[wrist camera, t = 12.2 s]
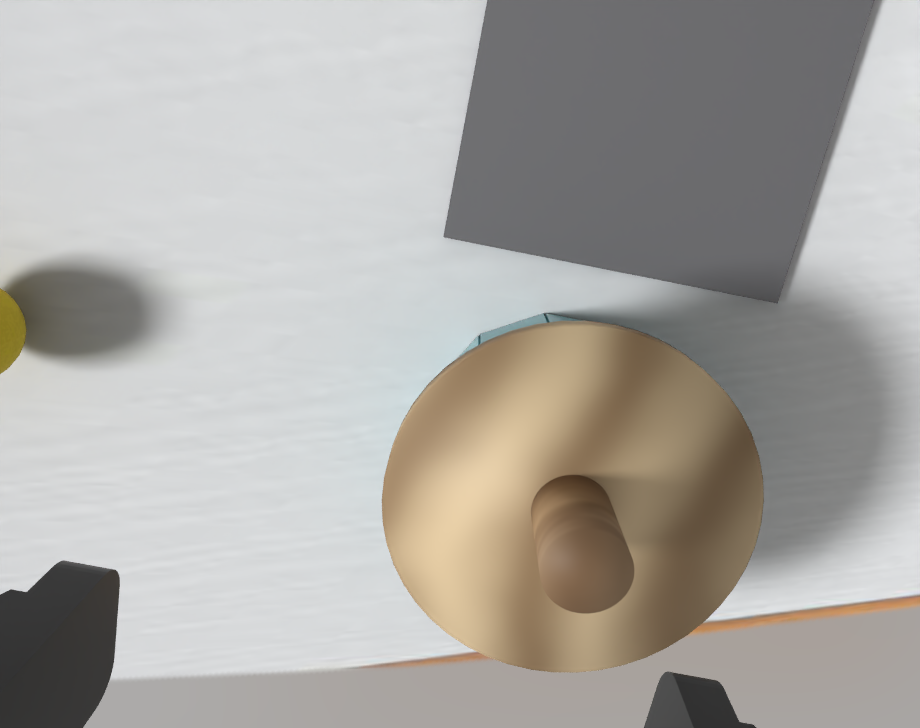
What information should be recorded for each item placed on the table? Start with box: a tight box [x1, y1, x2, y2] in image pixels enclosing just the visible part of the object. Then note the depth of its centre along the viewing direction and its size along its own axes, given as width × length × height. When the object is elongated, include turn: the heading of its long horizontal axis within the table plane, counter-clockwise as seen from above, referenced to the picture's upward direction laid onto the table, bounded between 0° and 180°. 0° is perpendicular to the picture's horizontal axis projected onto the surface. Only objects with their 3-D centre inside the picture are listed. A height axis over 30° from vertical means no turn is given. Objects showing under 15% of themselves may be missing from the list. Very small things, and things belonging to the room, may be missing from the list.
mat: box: [444, 0, 874, 303], centre depth 36 cm, size 18×18×1 cm
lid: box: [382, 321, 764, 672], centre depth 31 cm, size 17×17×6 cm
